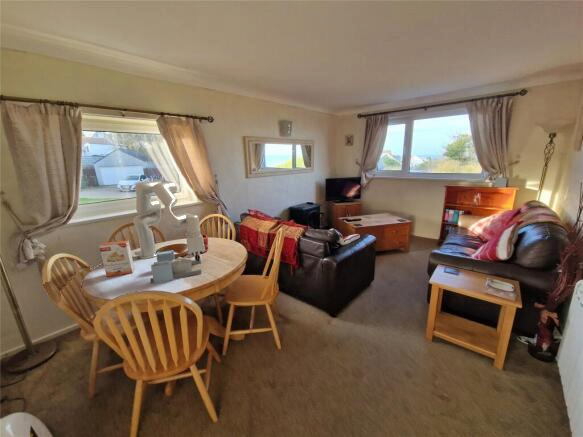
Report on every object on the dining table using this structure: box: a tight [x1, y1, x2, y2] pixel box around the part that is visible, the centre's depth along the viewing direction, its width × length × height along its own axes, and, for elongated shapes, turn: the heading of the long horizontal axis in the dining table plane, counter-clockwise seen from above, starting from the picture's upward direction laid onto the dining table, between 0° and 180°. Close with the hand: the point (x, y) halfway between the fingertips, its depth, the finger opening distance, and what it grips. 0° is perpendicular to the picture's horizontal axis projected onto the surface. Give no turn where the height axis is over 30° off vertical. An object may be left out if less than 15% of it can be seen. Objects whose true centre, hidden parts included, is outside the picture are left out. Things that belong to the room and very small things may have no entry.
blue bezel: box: [150, 249, 176, 284], centre depth 146 cm, size 10×21×12 cm, turn 22°
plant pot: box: [196, 234, 209, 254], centre depth 180 cm, size 13×13×12 cm
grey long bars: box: [149, 258, 202, 284], centre depth 150 cm, size 28×17×2 cm, turn 112°
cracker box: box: [98, 240, 135, 278], centre depth 147 cm, size 14×6×21 cm, turn 110°
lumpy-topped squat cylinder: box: [169, 256, 193, 274], centre depth 149 cm, size 10×13×9 cm
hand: (197, 260), depth 153 cm, fingers closed
